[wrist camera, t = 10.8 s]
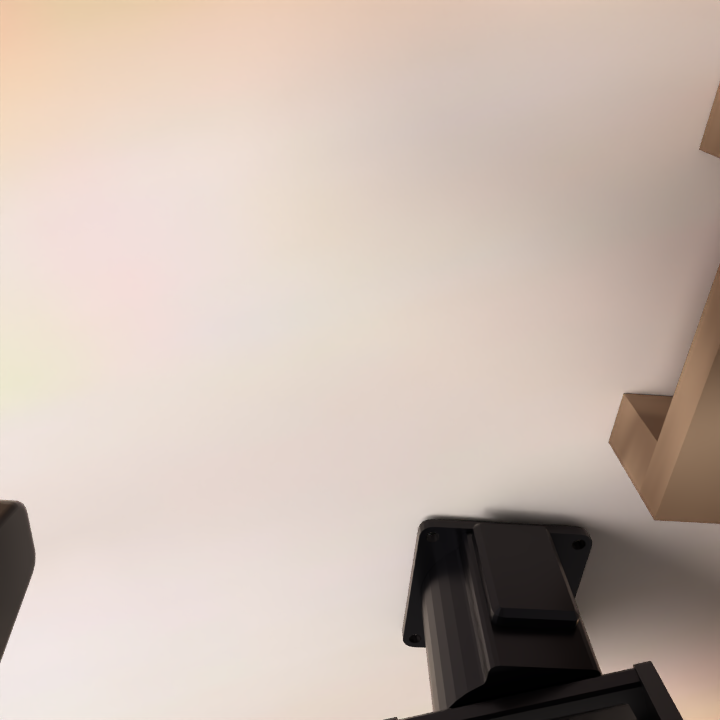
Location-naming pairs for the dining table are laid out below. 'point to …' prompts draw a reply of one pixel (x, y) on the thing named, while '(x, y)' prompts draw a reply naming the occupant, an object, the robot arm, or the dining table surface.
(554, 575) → the robot arm
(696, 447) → the walnut stand
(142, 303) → the dining table surface
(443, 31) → the dining table surface
